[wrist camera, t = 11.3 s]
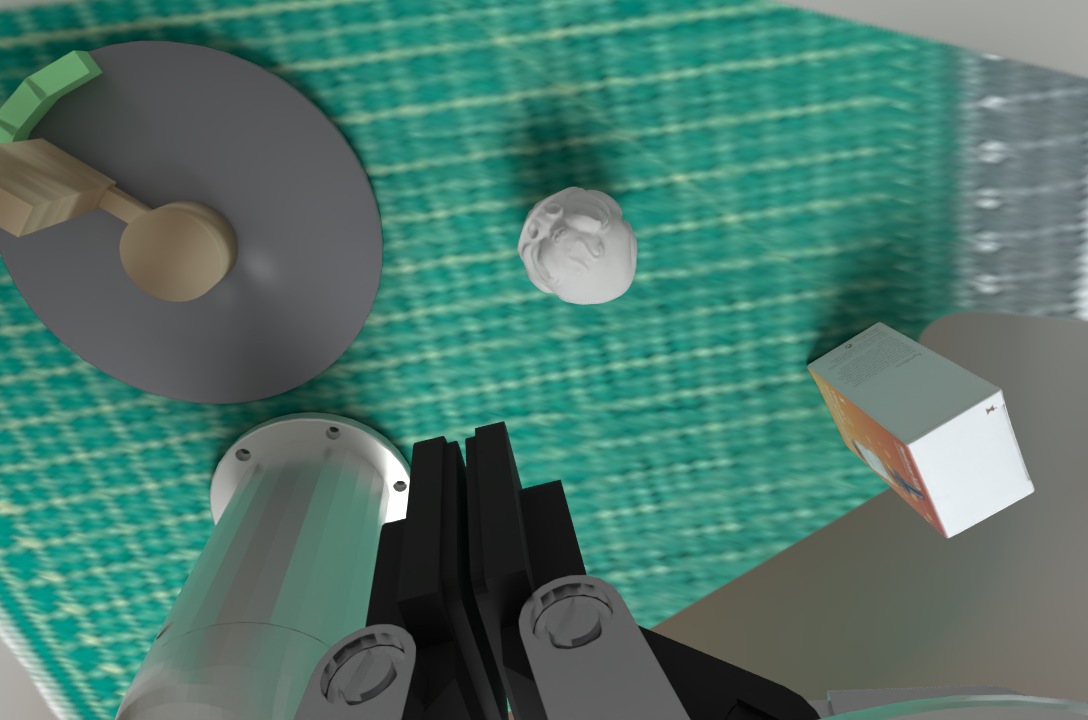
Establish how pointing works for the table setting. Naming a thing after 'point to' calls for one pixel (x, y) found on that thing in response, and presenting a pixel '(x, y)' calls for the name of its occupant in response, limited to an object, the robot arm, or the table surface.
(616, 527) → the table surface
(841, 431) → the small box
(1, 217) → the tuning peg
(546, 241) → the grey rounded lump
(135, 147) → the dial face
